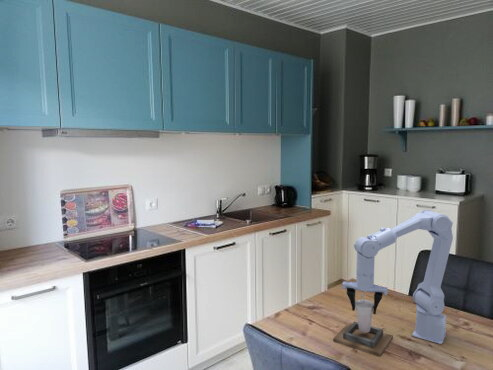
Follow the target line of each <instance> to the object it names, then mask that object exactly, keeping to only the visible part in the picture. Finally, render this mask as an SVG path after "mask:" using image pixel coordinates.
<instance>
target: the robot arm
mask: <svg viewBox="0 0 493 370" xmlns="http://www.w3.org/2000/svg"><path fill="white" fill-rule="evenodd" d="M452 228H453V221H452V220H451V219H450V218H449V217H448V215H447V214H443V213H438V212H435V211H432V210H430V209H424V210H422V211H420V212H417V213H415V214H414V216H413V217H410V218H408V219H407V220H405V221H403V222H401V223H400V224H398V225H396V226H394V227H392V228H389V227H380V229H379V230H378V231H376V232H373V233H369V234H367V236H361V237H358V238H357V240H356V241H355V242H354V243H355V244H353V248H354V250H355V251H356V272H355V273H356V276H355V278H356V279H355V280H356V281H343V282H342V290H346V295H347V297H348V299H349V302H350V304H351V310H352V311H353V312H355V311H356V307H355V302H356V291H361V292H362V291H363V292H367V293H368V292H370V293H374V295H373V303H374V308H373V313H372V315H376V313H377V309H378V306H379V304H380V302H381V300H382V299H383V295H384V296H388V287H386V286H382V285H378V284H375V259H376V258H375V257H376V256H377V255H378V254H379V252H380V251H381V250H383V249H385V248H387V247H389V246H391V245H393V244H395V243H396V242H397V239H398V238H400V237H402V236H404V235H405V236H406V235H407V234H409V233H412V232H414V231H416V230H422V231H427V232H428V233H429V235H430V236H431V237H432V238H433V241H432V245H431V250H430V253H429V258H428V261H427V266H426V270H425V274H424V279H423V281H422V282H420V283H418V284H417V288H416V289H415V290H414V292H413V294H412V300H413V302H414V303H415V307H416V313H415V314H416V315H415V329H414V330H413V332H412V334H411V336H412V337H414V338H417V339H422V340H425V341H429V342H431V343H436V344H439V345H443V343H444V341H445V338H446V335H447V315H445V314H443V312H444V310H445V301H444V300H445V294H444V292H443V290H442V288H441V286H442V282H443V278H444V275H445V272H446V268H447V265H448V264H447V263H448V259H449V255H450V252H451V247H452V243H453V239H454V235H453V231H452Z"/></svg>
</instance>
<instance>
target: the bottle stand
mask: <svg viewBox="0 0 493 370" xmlns="http://www.w3.org/2000/svg"><path fill="white" fill-rule="evenodd" d="M393 339H394V335H393V334H389V333H386V332H384V329H382V328H378V327H375V326H373V325H371V328H370V332H367V333H364V332H361V331H360V330H359V326H358V321H355V320H354V321H353V322H348V323H346V324H345V326H344V327H343V328H342V329H341V330H340V331H338V333H337V334H336V335H335V336H334V337H333V339H332V340H333V342H334V343H337V344H340V345H344V346H347V347H350V348H353V349H356V350H359V351H362V352H365V353H368V354H371V355H374V356H378V357H380V358H381V356H382V355H383V354H384V352H385V351H386V349H387V348H388V347H389V345H390V343H391V342H392V340H393Z"/></svg>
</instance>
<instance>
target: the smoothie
mask: <svg viewBox="0 0 493 370" xmlns="http://www.w3.org/2000/svg"><path fill="white" fill-rule="evenodd" d="M373 310H374V301H371V300H369V299H364V291H361V299H358V300H355V312H356V318H357V322H358V326H359V330H360V331H361V332H364V333H367V332H370V328H371V326H372V319H373Z"/></svg>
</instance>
